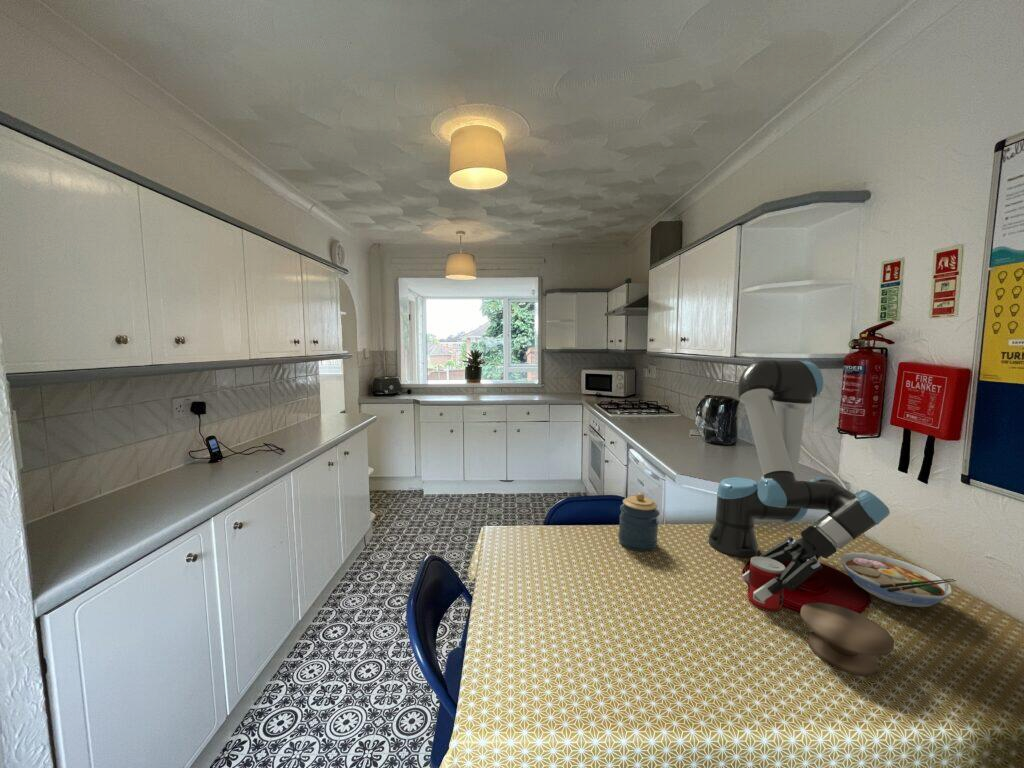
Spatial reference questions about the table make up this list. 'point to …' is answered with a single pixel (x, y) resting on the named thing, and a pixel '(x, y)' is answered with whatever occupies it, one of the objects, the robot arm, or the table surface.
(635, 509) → the canister
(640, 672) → the table surface
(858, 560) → the ramen bowl
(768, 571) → the canned food
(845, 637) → the cake stand
